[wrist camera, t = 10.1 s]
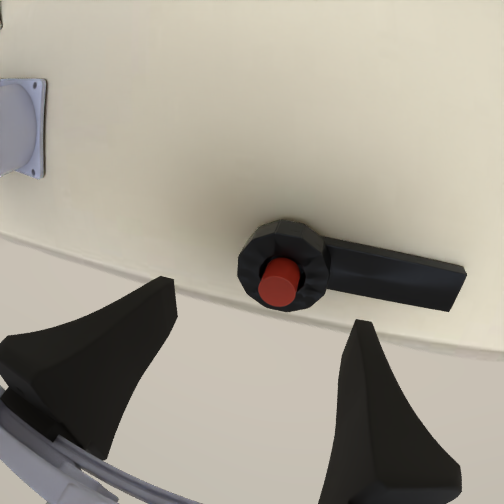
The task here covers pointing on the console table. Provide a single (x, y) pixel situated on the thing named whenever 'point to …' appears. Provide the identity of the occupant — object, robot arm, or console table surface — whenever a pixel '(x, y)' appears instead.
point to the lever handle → (346, 269)
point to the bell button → (279, 282)
